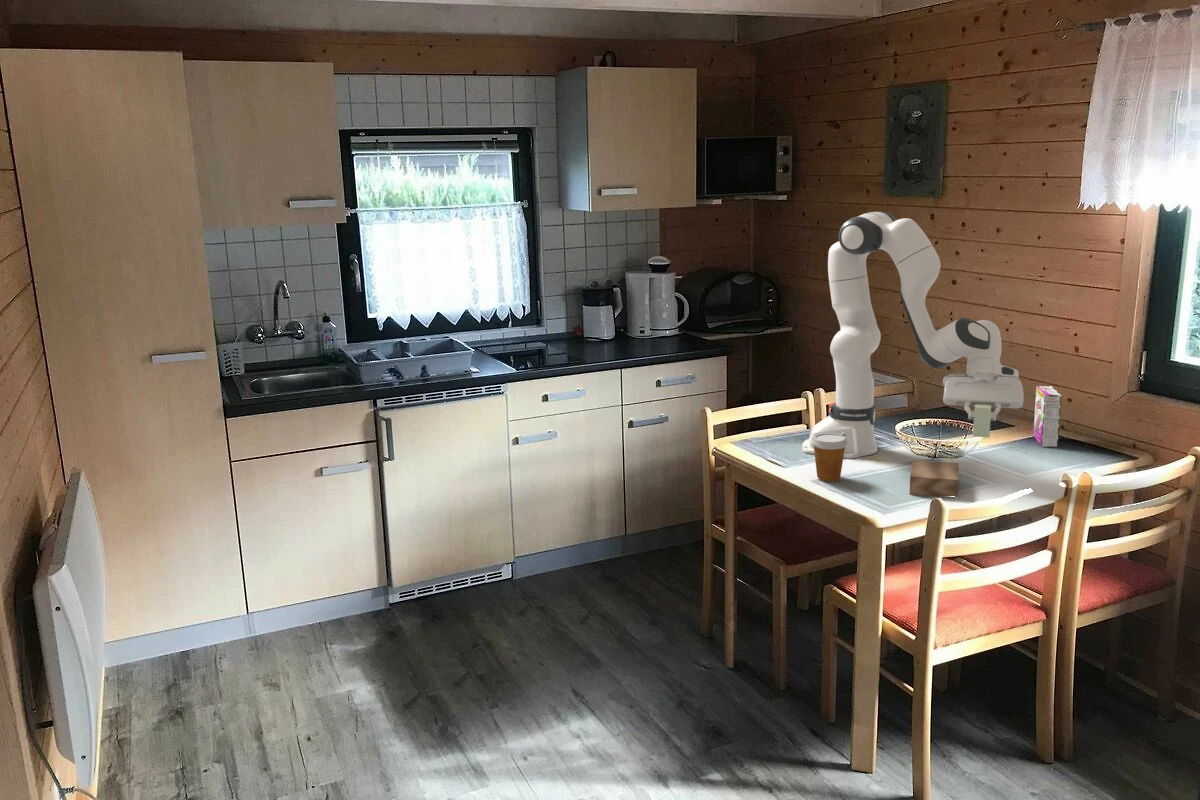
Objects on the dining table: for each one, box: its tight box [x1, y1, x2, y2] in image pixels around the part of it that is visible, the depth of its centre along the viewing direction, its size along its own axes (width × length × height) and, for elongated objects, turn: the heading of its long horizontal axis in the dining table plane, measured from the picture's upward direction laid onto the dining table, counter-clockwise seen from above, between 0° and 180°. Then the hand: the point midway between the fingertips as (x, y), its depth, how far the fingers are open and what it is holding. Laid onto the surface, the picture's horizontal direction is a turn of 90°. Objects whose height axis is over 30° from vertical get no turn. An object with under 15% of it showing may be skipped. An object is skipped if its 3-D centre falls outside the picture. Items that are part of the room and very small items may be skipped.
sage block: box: [972, 404, 992, 438], centre depth 255 cm, size 4×4×8 cm
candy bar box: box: [1032, 385, 1062, 448], centre depth 289 cm, size 11×5×16 cm, turn 168°
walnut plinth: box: [908, 459, 960, 497], centre depth 256 cm, size 12×14×5 cm
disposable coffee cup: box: [812, 433, 847, 482], centre depth 266 cm, size 10×10×12 cm
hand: (982, 419), depth 254 cm, fingers closed on sage block, 4 cm apart
